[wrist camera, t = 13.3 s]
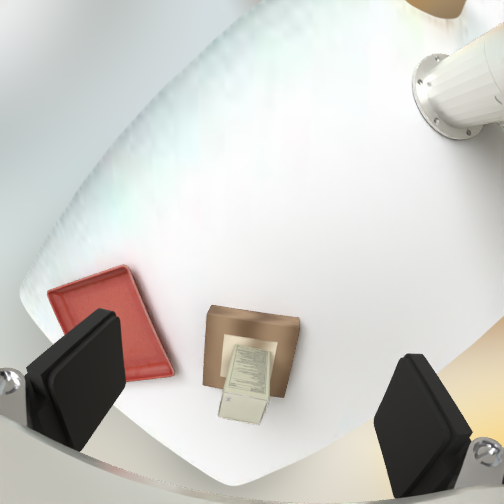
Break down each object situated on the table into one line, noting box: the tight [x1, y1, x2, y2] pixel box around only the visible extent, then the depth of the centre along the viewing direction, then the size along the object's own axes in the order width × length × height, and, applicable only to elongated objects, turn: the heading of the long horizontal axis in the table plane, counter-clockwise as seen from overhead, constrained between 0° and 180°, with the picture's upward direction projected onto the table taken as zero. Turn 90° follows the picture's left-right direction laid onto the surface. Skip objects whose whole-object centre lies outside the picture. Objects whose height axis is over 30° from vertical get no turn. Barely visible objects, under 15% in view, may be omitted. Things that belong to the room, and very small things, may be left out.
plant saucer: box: [47, 264, 175, 382], centre depth 43 cm, size 18×18×3 cm
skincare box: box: [218, 344, 271, 425], centre depth 35 cm, size 5×4×10 cm
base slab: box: [203, 305, 300, 398], centre depth 41 cm, size 12×12×3 cm
